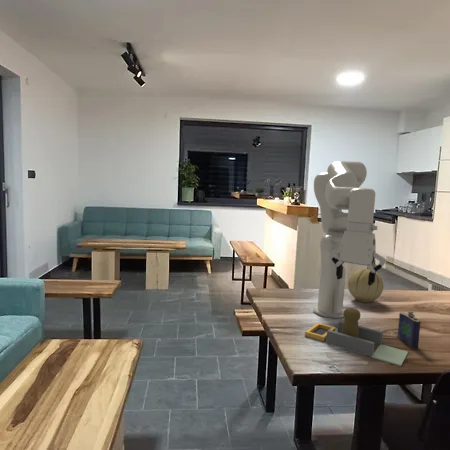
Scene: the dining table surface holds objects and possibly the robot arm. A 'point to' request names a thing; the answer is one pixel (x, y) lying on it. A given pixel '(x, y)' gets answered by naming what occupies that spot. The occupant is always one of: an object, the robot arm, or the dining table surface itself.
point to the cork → (351, 322)
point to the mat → (390, 355)
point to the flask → (409, 329)
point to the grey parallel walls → (355, 339)
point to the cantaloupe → (364, 286)
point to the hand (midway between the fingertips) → (354, 281)
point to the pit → (319, 331)
